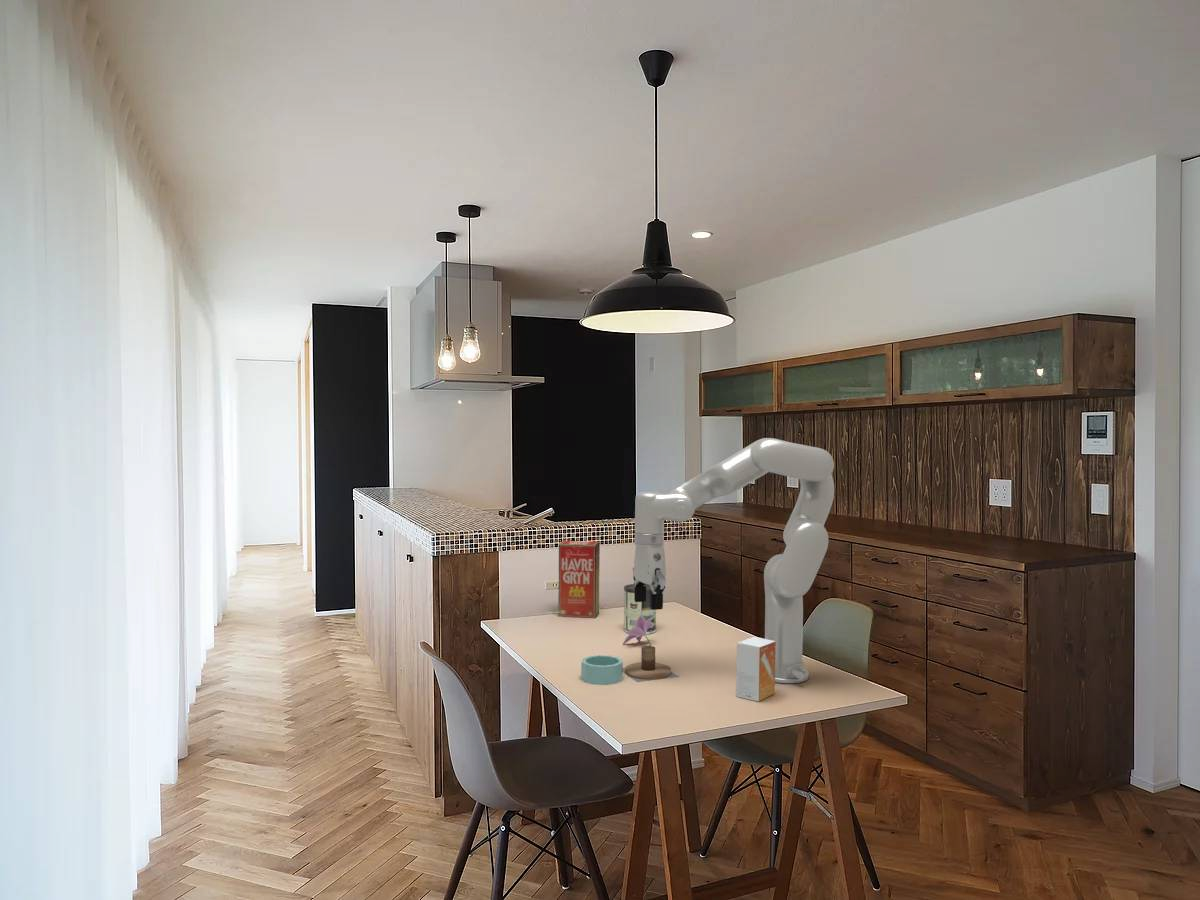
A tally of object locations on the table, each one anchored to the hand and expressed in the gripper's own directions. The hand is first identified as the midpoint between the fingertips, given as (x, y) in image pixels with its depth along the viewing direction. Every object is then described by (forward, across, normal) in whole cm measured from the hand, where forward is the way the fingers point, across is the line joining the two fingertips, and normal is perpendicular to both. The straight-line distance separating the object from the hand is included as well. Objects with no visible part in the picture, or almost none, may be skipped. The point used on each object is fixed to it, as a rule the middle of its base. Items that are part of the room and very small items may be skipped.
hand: (648, 605), depth 207 cm
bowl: (+18, 0, +13) cm, 22 cm away
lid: (+18, 0, 0) cm, 18 cm away
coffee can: (+18, +43, -18) cm, 50 cm away
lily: (+18, +27, -11) cm, 35 cm away
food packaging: (+18, +71, -8) cm, 74 cm away
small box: (+18, -24, -17) cm, 35 cm away
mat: (+18, 0, 0) cm, 18 cm away
